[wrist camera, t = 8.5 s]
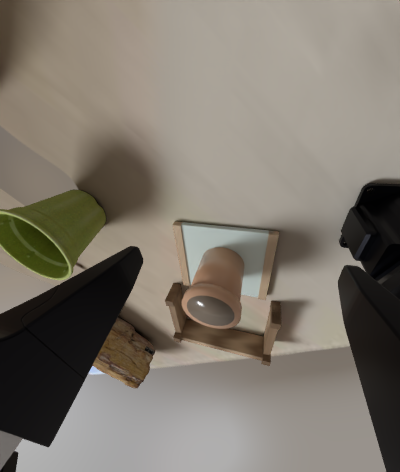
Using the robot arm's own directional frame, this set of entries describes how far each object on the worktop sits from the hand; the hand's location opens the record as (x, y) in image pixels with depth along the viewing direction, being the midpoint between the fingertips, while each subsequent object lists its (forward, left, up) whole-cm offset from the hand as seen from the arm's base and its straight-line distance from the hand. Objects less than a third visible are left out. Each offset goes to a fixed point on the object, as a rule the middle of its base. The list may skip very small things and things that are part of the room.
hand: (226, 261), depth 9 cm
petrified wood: (+28, +39, -13) cm, 50 cm away
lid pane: (+3, +12, -12) cm, 18 cm away
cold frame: (+2, +24, -12) cm, 27 cm away
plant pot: (+21, +6, -13) cm, 26 cm away
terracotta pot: (+2, +12, -12) cm, 17 cm away
